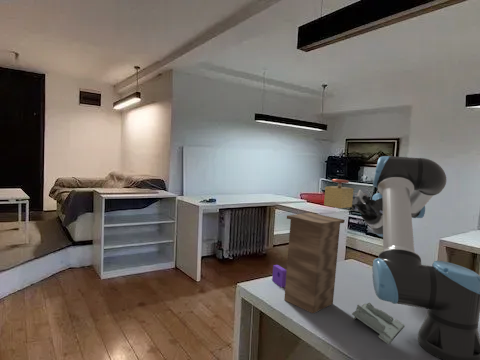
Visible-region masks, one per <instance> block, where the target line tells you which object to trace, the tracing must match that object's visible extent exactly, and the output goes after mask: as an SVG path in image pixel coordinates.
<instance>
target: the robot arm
mask: <svg viewBox="0 0 480 360" xmlns="http://www.w3.org/2000/svg"><path fill="white" fill-rule="evenodd" d="M446 185H447V175H446V173H445V170H444V168H443V167H442V166H440V164H438V163H437V162H435V161H434V160H432V159H429V158H424V157H409V156H406V157H405V156H395V155H394V156H393V155H390V156H388V155H385V156H384V155H381V156H380V157H379V158H378V160H377V163H376V167H375V172H374V177H373V182H372V186H373V187H374V188H376V189H377V193H374V194H373V195H372V198H371V196H369V197H367V196H365V195H364V193H363V191H362V190H361V189H359V190H358V192H357V193H358V194H357V197H358V198H359V199H360V200H361V202H362V203H361V204H353V205H352V207H350V208H351V211H353V212H354V211H357V212H359V213H360V216H361V219H362V220H364V221H363V222H365V223H366V224H367V225H368V226H369V228H370V229H371V230H372V231H373V233H375V235H377V236H378V237H381V238H382V240H383V241H382V246H383V247H382V249H383V250H381V252H379V254H378V255H377V256H378V257H377V258H374V259H373V262H372V283H373V289H374V293H375V295H376V297H377V298H378V299H379V300H381V301H384V302H389V303H391V304H395V305H397V304H398V305H404V306H409V307H416V308H419V309H420V308H421V309H427V315H426V317H425V319H424V321H423V323H422V324H421V326H420V328H419V330H418V332H417V342H418V344H419V345H420V347H422V349H424V350H425V351H426V352H428V353H429V354H431V355H432V356H434V357H436V358H438V359H441V360H480V334H479V331H478V330H479V321H480V274H478V272H476V271H474V270H472V269H469V268H468V267H464V266H462V265H459V264H455V263H452V262H448V261H444V260H434V262H433V263H432V266H431V265H426V264H425V265H424V264H422V257H421V256H420V255H419V254H418V253H417V252H415V243H414V242H415V241H414V231H413V230H414V229H413V219H423V217H425V214H426V205H427V204H428V202H429V201H430V200H431V199H432V198H433V197H434V196H437V195H439V194H440V193H441V192H442V191H443V190H444V189H445V187H446Z"/></svg>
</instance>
